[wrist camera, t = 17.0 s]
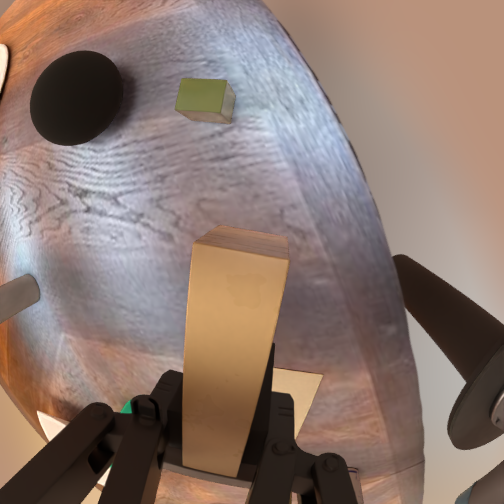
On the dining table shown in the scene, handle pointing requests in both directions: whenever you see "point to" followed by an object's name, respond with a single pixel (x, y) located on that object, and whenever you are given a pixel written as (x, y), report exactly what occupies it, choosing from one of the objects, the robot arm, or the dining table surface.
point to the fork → (227, 349)
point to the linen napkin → (297, 390)
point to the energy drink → (356, 484)
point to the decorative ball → (76, 98)
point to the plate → (3, 64)
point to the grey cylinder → (17, 296)
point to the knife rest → (206, 100)
